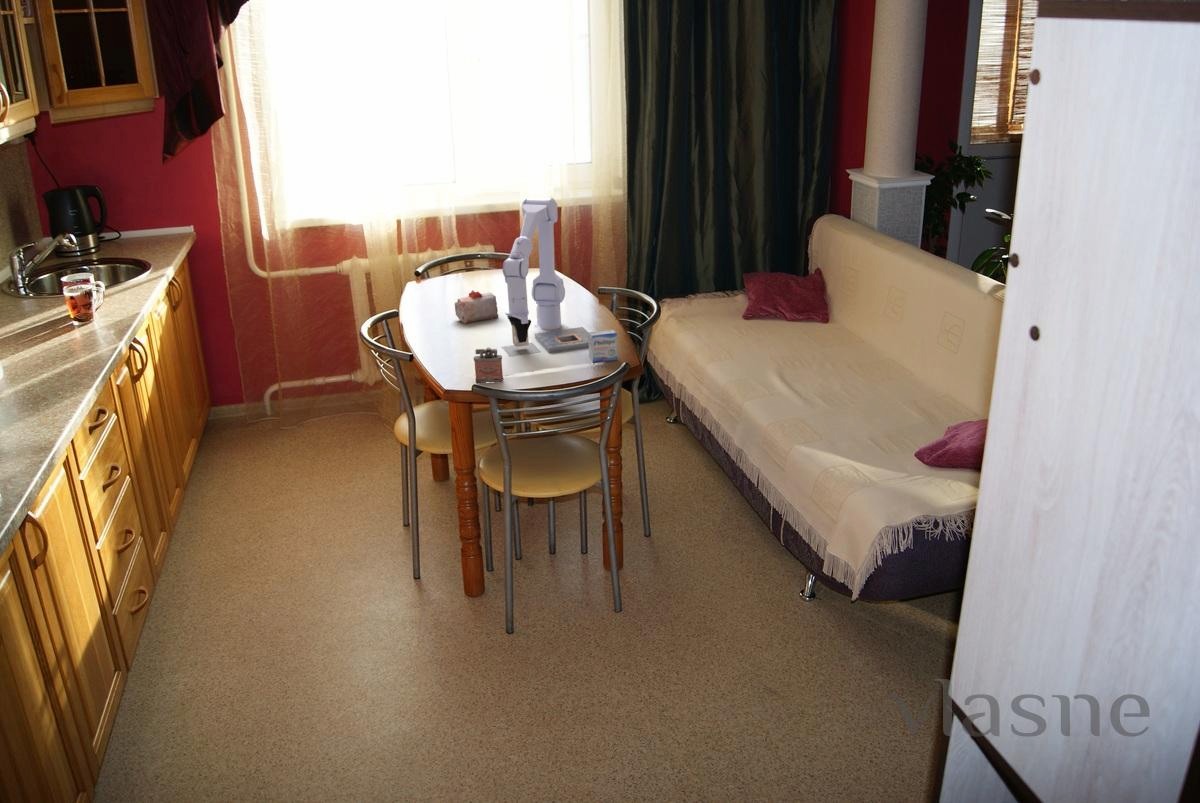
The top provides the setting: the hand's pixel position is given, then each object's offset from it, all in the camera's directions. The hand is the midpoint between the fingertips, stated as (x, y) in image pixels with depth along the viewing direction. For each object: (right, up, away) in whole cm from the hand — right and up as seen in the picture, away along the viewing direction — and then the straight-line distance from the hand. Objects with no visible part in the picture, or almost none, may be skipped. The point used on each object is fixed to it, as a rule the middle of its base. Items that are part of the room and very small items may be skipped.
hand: (520, 339), depth 312 cm
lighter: (-7, -13, -21) cm, 26 cm away
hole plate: (+14, -1, +7) cm, 16 cm away
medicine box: (+26, -7, -7) cm, 27 cm away
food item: (-18, +9, +36) cm, 41 cm away
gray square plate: (0, -4, +2) cm, 4 cm away
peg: (0, -1, +1) cm, 1 cm away
